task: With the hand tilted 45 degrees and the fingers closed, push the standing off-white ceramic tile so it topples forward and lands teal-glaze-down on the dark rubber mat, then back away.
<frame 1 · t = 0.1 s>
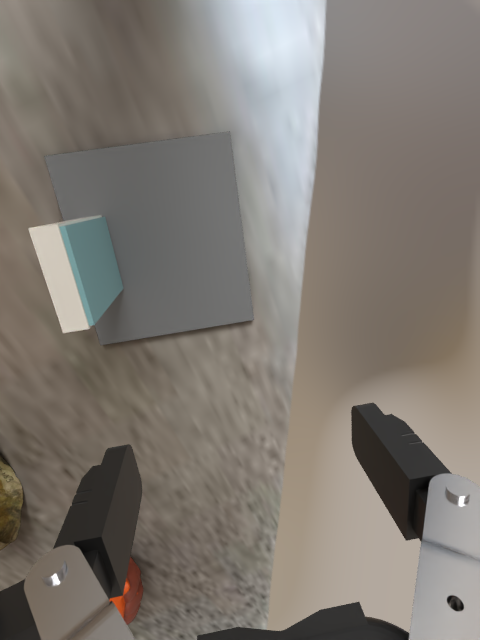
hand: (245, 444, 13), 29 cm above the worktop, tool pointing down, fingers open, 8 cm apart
toy fish: (111, 561, 53), on the worktop
mat: (160, 245, 38), on the worktop
tile: (103, 255, 37), point 1 cm above the worktop, touching mat
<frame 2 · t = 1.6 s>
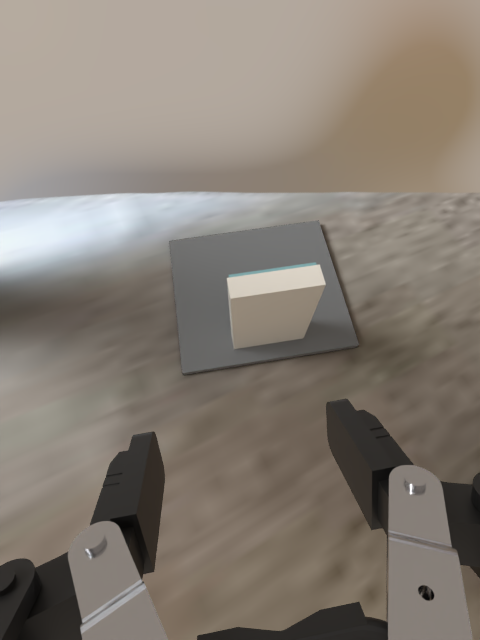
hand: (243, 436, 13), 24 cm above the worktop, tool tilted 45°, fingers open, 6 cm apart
mat: (257, 292, 44), on the worktop
tile: (266, 334, 40), point 1 cm above the worktop, touching mat
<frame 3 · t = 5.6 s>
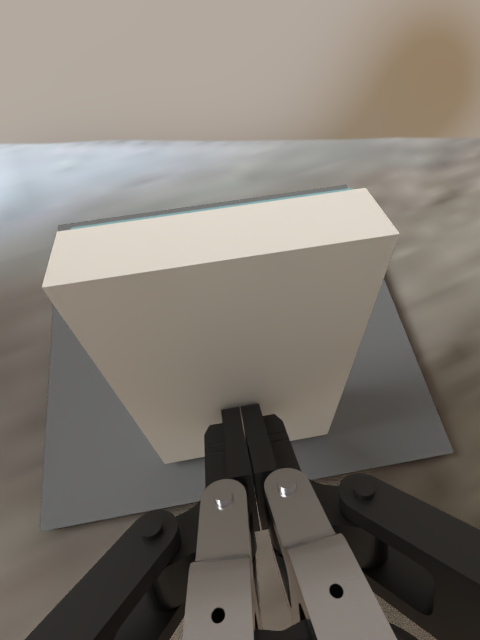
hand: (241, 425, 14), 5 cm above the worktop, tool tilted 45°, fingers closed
mat: (226, 326, 21), on the worktop
tile: (243, 425, 18), point 1 cm above the worktop, tilted 14°, touching mat
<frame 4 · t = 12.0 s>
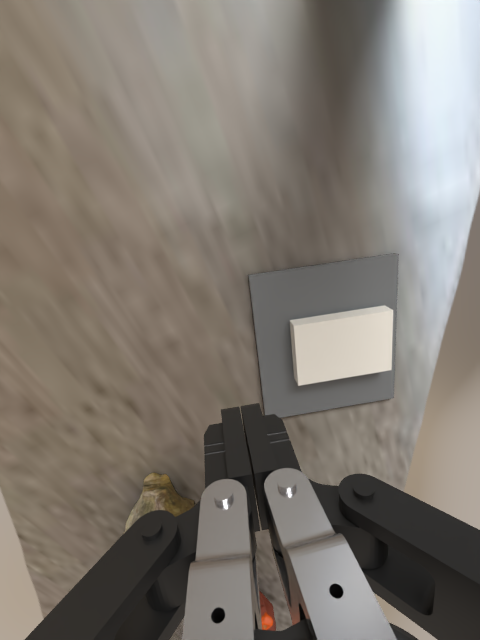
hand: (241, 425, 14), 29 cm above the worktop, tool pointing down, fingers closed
toy fish: (238, 594, 60), on the worktop
mat: (325, 340, 45), on the worktop
rock: (160, 511, 52), on the worktop
tile: (293, 352, 43), point 2 cm above the worktop, tilted 90°, touching mat
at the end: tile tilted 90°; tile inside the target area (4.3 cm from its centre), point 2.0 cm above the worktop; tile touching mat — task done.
